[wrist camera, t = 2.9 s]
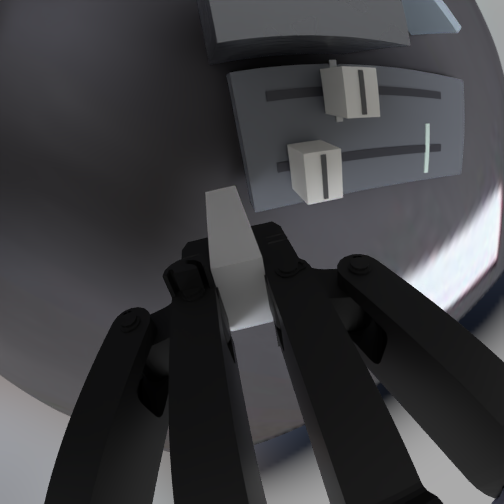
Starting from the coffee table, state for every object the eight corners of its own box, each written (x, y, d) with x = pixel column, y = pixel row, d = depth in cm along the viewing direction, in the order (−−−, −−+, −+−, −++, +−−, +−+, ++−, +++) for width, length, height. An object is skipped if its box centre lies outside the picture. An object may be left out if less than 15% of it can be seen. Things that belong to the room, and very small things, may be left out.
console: (250, 202, 21) (255, 213, 20) (225, 71, 16) (229, 68, 14) (448, 167, 23) (461, 174, 21) (448, 75, 17) (463, 77, 15)
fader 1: (292, 188, 19) (308, 205, 16) (287, 144, 17) (303, 154, 14) (323, 182, 19) (343, 198, 16) (320, 139, 17) (341, 149, 15)
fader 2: (325, 113, 16) (348, 118, 14) (319, 69, 14) (342, 66, 12) (355, 111, 16) (381, 117, 14) (351, 68, 15) (376, 67, 12)
